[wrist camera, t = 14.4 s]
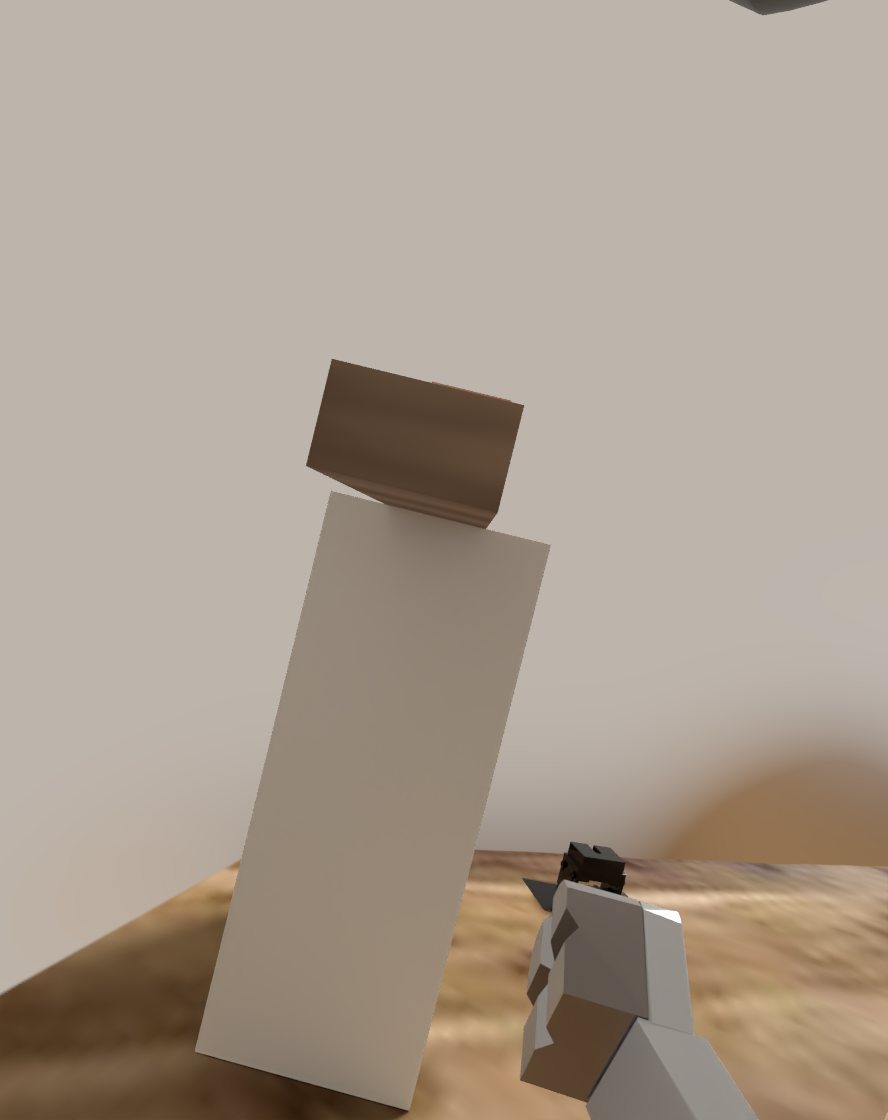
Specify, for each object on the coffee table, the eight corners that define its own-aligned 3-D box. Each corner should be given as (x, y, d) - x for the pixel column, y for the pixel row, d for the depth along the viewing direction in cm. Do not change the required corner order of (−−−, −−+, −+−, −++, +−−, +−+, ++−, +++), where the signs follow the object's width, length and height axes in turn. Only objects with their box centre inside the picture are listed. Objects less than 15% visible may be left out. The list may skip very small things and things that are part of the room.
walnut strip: (402, 512, 45) (413, 467, 45) (483, 532, 45) (494, 487, 45) (306, 465, 19) (331, 359, 19) (497, 512, 19) (524, 405, 19)
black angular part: (633, 896, 71) (646, 844, 71) (676, 941, 64) (690, 884, 64) (498, 876, 68) (511, 823, 68) (527, 921, 61) (542, 861, 61)
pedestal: (280, 901, 53) (376, 508, 53) (431, 941, 53) (529, 546, 52) (194, 1051, 37) (330, 490, 37) (409, 1111, 37) (550, 544, 36)
